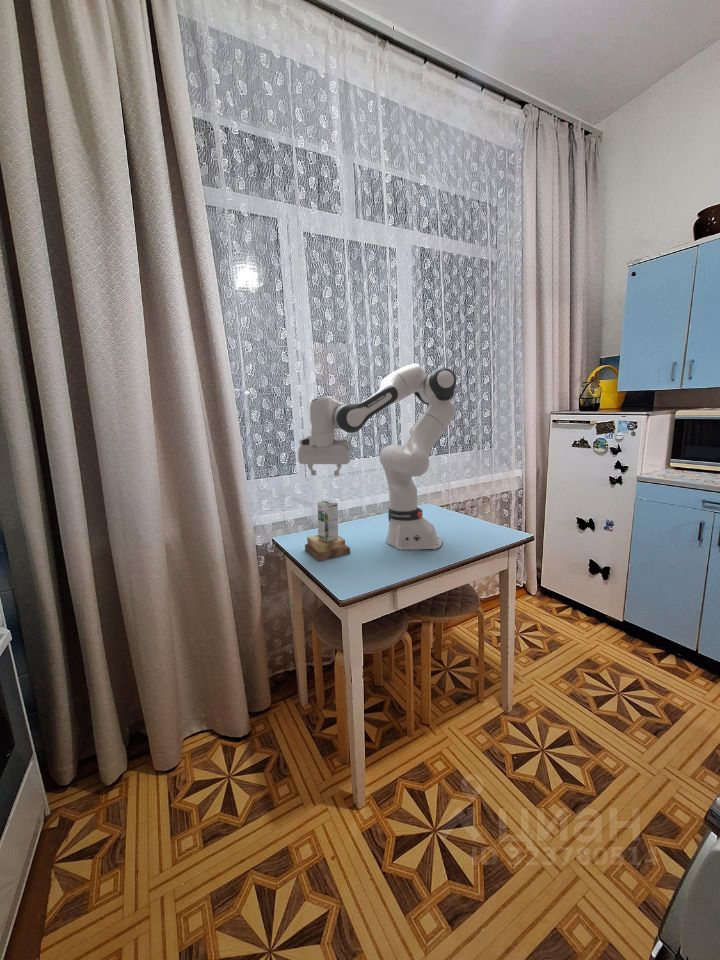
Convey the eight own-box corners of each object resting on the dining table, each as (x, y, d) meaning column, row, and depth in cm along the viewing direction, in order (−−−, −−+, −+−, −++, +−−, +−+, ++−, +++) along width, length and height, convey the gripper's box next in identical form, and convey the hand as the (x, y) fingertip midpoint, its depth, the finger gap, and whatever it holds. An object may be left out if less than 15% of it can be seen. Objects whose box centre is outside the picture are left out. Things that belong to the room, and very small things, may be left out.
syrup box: (317, 538, 150) (316, 502, 147) (329, 535, 154) (329, 499, 151) (326, 542, 146) (325, 504, 143) (338, 538, 150) (338, 502, 147)
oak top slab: (333, 538, 158) (332, 531, 158) (345, 547, 149) (345, 540, 148) (307, 544, 153) (307, 537, 153) (318, 553, 144) (318, 546, 143)
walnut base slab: (334, 544, 160) (334, 537, 160) (350, 555, 149) (349, 547, 149) (305, 551, 154) (304, 544, 153) (318, 563, 143) (318, 555, 142)
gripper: (351, 438, 150) (353, 474, 153) (301, 439, 155) (303, 473, 158) (347, 440, 144) (348, 477, 147) (295, 441, 149) (297, 476, 152)
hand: (325, 475), depth 152 cm, fingers open, 8 cm apart
